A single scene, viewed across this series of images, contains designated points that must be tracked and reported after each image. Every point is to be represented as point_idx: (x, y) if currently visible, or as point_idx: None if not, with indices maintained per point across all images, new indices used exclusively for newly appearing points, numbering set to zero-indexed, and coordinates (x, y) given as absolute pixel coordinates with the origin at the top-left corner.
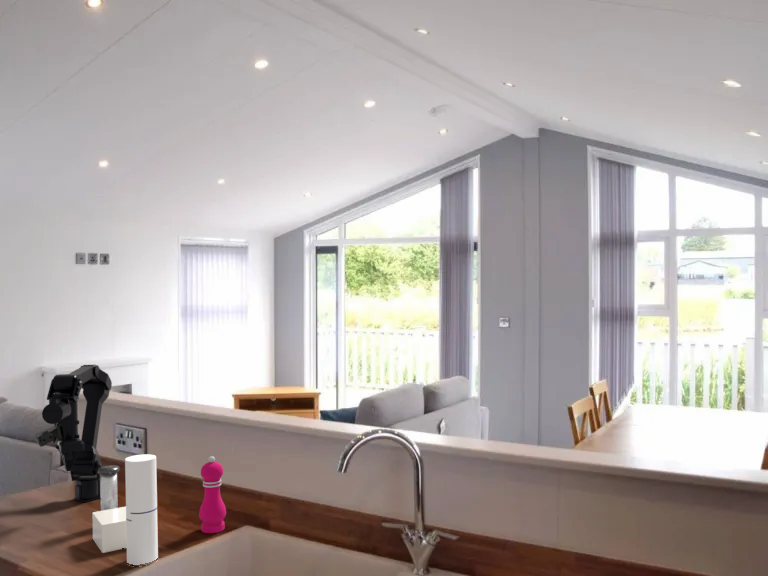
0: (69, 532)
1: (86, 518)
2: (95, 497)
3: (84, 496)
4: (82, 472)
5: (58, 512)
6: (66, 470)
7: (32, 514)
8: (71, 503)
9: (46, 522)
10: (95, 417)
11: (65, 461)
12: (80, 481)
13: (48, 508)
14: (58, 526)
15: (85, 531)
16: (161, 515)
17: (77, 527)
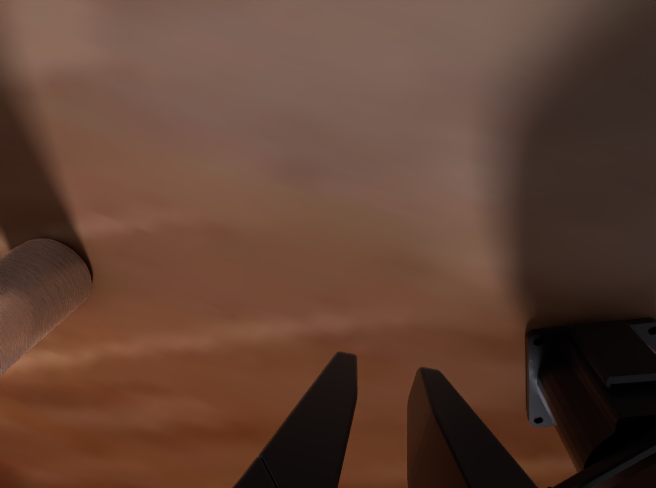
0: (45, 80)
1: (238, 236)
2: (538, 393)
3: (566, 357)
4: (626, 485)
5: (476, 163)
6: (337, 355)
7: (590, 11)
8: (586, 280)
9: (327, 33)
10: None
11: (259, 459)
12: (637, 416)
13: (621, 145)
14: (194, 67)
15: (19, 153)
16: (76, 450)
17: (110, 146)
